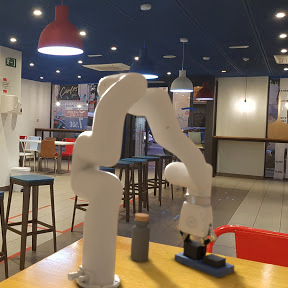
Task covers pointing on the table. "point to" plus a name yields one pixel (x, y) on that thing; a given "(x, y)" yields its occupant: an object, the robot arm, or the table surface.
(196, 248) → the pad
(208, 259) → the pad
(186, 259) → the frame
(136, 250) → the bottle
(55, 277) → the table surface
